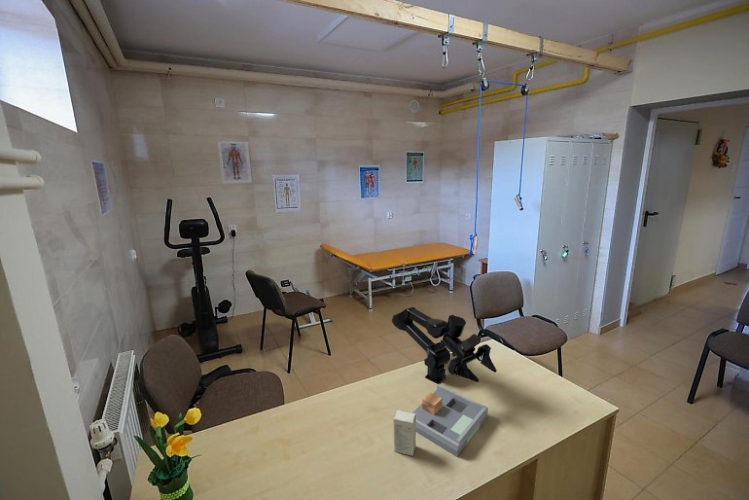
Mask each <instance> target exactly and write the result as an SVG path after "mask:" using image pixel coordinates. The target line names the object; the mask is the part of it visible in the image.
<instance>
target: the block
mask: <svg viewBox="0 0 749 500" xmlns="http://www.w3.org/2000/svg"><path fill="white" fill-rule="evenodd" d="M433 393H434V392H428V394H426V395H425V396H424V397H423V398H422V400H421V404H422V409H423V410H425V411H427V412H429V413H431V414H432V415H435V414H436V413H437V412H438V411H439V410H440V409H441V408H442V398H440V397H438V396H436V395H435V394H433Z"/></svg>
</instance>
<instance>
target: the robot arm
mask: <svg viewBox="0 0 749 500" xmlns="http://www.w3.org/2000/svg"><path fill="white" fill-rule="evenodd" d="M414 322H415V323H416V324H418V325H419V326H421V327H423V328H424V329H426V332H427V334H429V335H430V336H431V337H432V338H433V339H435V340H436V339H439V338H442V339H440V342H437V343H435V342H434V341H433V340H431V338H430V337H429V336H427V335H426V334H425V333H424V332H423V331H422V330H421V329H420V328H419V327H418V326H417V325H416V324H415V323H414ZM391 323H392V324H393V326H394V327H395V328H397V329H398V330H400V331H403V332H406V333H407V335H409V336H410V337H411V338H412V339H413V340H414V341H415V343H416V344H417V345H418V346H420V347H421V348H422V350H424V351H425V353H426V358H424V360H423V362H424V366H426V367H427V368H426V369H427V370H426V374H425V376H424V378H425V379H427V380H430V381H432V382H434V383H436V384H440V383H441V382H442V381H443V380H444V379H445V378H446V377H447V375H446V369H445V368H446V367H445V365H448V367H447V370H448V373H449V374H450V376H452V377H453V376H455V377H458V376H459V377H462V378H465V379H468V380H470V381H473V382H476V383H479V381H480V379H479V378H478V377H477V375H476V374H475V373H474V372H473V371H472V370H471V369H470V368H469V366H468V365H467V364H468V363H470V362H472V361H475V360H477V361H478V362H480V364H481V365H483V366H484V368H485V367H486V368H487V369H489V370H490V371H491V372H493V373H497V372H498V370H497V368H496V366H495V364H494V362H493V361H492V359H491V357H490V354H491V350H492V347H491V346H489V344H487V343H486V344H482V345H480V341H481V338H480V337H479V336H478V335H477V334H476V333H473V334H471V335H470V336H469V337H468V338H466V339H464V340H462V339H461V338H459V337H461V336H462V335H463V333H464V330H465V328H466V324H467V322H466V320H465V319H464V317H461V316H458V315H454V314H451V315H448V319H447V321H446V320H443V319H440V318H433V317H431V316H429V315H427V314H426V313H423V312H422V311H420V310H418V309H417V308H416V307H415V306H411V307H408V308H405V309H403V310H402V311H401V312H399V313H396V314H393V316H392V319H391ZM478 345H479V346H478ZM477 346H478V348H477V350H476V347H477ZM475 351H476V352H475ZM451 353H452V354H451ZM451 356H452V357H453V358H452V359H451ZM448 363H449V364H448Z"/></svg>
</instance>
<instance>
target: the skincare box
mask: <svg viewBox="0 0 749 500" xmlns="http://www.w3.org/2000/svg"><path fill="white" fill-rule="evenodd" d="M392 420H393V451H394V452H397V453H400V454H404V455H407V456H412V457H413V456H414V453H415V450H416V447H417V446H416V445H417V439H416V437H417V436H416V435H417V432H416V414H415V413H412V412H411V411H410V412H409V411H405V410H400V409H396V412H395V414H394V416H393V418H392Z"/></svg>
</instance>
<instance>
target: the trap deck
mask: <svg viewBox="0 0 749 500" xmlns="http://www.w3.org/2000/svg"><path fill="white" fill-rule="evenodd" d="M432 393H433V394H435V395H436V396H438V397H440V398H442V408H441V409H440V410H439V411H438V412H437V413H436V414H435V415H432V414H431V413H429V412H427V411H425V410H423V409H422V403H421V404H420V405H419V406H417V408H416V409H414V410H413V411H412V412H411V413H415V414H416V434H418V435H420V436H422V437H424V438H426V439H427V440H428V441H430V442H432V443H433V444H434V445H437V446H439V447H440V448H442V449H444V451H446V452H448V453H450V454H452V455H453V456H455V457H458V456H459V455H460V454H461V452H462V451H463V450H464V448H465V447H466V445H467V444H468V443H469V442H470V441H471V440H472V438H473V437H474V436H475V434H476V433H477V432H478V430H479V429H480V427H481V426H482V425H483V424H484V423H485V421H486V420H487V418H488V412H489V408H488V406H486V405H484V404H480V403H479V402H477V401H475V400H472V399H471V398H469V397H467V396H464V395H462V394H460V393H458V392H456V391H454V390H451V389H449V388H447V387H445V386H444V385H441V384H440V383H437V385H436V390H435V391H433V392H432Z"/></svg>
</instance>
